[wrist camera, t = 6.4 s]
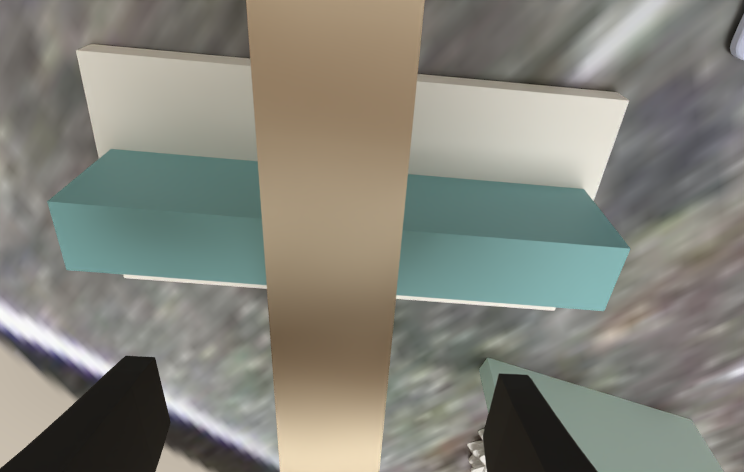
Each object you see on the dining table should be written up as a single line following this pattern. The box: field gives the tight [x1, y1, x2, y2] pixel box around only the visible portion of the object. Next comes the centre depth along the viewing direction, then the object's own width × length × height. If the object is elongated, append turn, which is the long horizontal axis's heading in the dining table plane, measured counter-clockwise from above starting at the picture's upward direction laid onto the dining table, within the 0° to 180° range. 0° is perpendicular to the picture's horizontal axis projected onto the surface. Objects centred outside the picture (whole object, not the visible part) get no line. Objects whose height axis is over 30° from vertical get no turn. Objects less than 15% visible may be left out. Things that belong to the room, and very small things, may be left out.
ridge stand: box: [47, 44, 630, 311], centre depth 17 cm, size 18×9×5 cm, turn 85°
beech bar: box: [246, 0, 425, 472], centre depth 14 cm, size 18×3×4 cm, turn 177°
